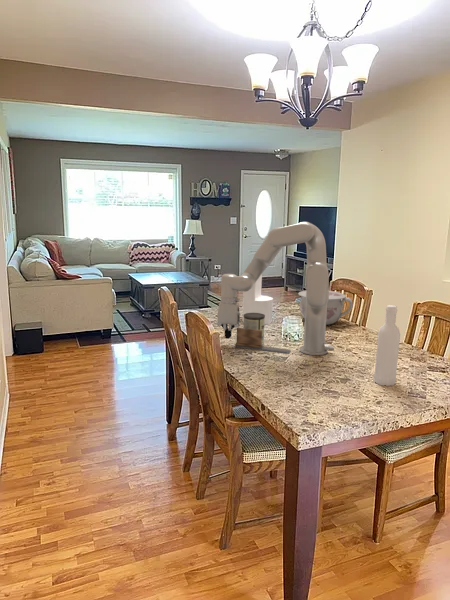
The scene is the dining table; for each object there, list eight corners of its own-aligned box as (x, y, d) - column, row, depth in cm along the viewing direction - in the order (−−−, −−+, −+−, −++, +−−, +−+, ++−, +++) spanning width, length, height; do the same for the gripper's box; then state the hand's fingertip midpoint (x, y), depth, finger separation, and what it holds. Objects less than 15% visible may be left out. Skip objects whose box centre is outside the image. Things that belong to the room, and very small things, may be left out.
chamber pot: (287, 319, 269) (289, 284, 265) (324, 315, 280) (326, 282, 276) (315, 330, 244) (317, 293, 240) (355, 326, 255) (357, 290, 251)
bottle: (378, 376, 178) (385, 302, 172) (398, 381, 173) (406, 305, 167) (370, 382, 172) (377, 306, 166) (391, 387, 167) (399, 309, 161)
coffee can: (243, 339, 224) (244, 312, 222) (264, 340, 224) (265, 313, 221) (242, 345, 214) (242, 317, 212) (263, 346, 213) (264, 317, 211)
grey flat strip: (290, 351, 207) (290, 349, 207) (288, 353, 204) (289, 352, 204) (237, 345, 215) (237, 343, 215) (235, 347, 212) (235, 345, 212)
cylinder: (239, 323, 256) (240, 274, 251) (246, 316, 272) (247, 270, 267) (268, 326, 251) (270, 276, 246) (274, 319, 268) (276, 272, 262)
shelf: (261, 346, 211) (262, 329, 209) (260, 348, 208) (261, 331, 207) (237, 343, 215) (238, 327, 213) (235, 345, 212) (236, 328, 210)
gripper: (246, 300, 212) (245, 337, 215) (216, 297, 216) (215, 334, 220) (241, 303, 205) (240, 341, 208) (211, 300, 209) (210, 338, 213)
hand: (227, 337), depth 214 cm, fingers closed
